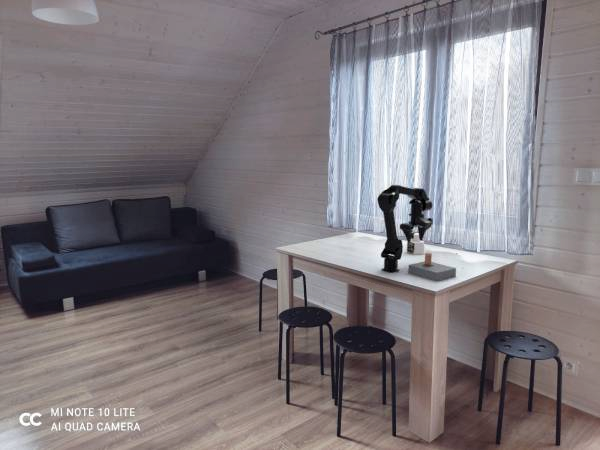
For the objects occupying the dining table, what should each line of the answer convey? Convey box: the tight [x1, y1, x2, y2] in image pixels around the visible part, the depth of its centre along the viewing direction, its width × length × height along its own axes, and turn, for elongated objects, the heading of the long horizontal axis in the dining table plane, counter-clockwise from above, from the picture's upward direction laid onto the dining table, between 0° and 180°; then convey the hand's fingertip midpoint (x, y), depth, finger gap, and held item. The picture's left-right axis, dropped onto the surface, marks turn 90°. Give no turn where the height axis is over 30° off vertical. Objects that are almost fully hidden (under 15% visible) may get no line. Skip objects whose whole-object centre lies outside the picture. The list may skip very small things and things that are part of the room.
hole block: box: [407, 260, 457, 282], centre depth 216 cm, size 14×17×4 cm
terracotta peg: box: [424, 252, 433, 267], centre depth 217 cm, size 3×3×10 cm
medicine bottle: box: [406, 231, 425, 256], centre depth 260 cm, size 7×7×12 cm
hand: (415, 241), depth 234 cm, fingers open, 9 cm apart
